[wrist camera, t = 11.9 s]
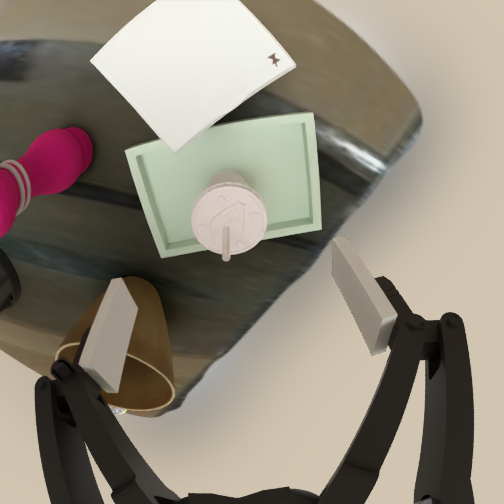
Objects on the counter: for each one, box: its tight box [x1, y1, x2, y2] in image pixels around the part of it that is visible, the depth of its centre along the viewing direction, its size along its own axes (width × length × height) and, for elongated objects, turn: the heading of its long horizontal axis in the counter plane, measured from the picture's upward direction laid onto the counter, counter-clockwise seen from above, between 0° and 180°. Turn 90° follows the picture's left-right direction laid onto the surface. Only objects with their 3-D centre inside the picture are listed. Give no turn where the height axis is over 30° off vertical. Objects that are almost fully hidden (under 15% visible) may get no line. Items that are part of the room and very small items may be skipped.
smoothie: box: [191, 169, 268, 261], centre depth 24 cm, size 6×6×14 cm
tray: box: [125, 111, 322, 258], centre depth 30 cm, size 20×14×2 cm
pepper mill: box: [0, 127, 93, 238], centre depth 18 cm, size 7×7×20 cm
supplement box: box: [90, 0, 296, 154], centre depth 18 cm, size 9×9×15 cm
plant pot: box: [55, 276, 175, 411], centre depth 32 cm, size 15×15×16 cm
